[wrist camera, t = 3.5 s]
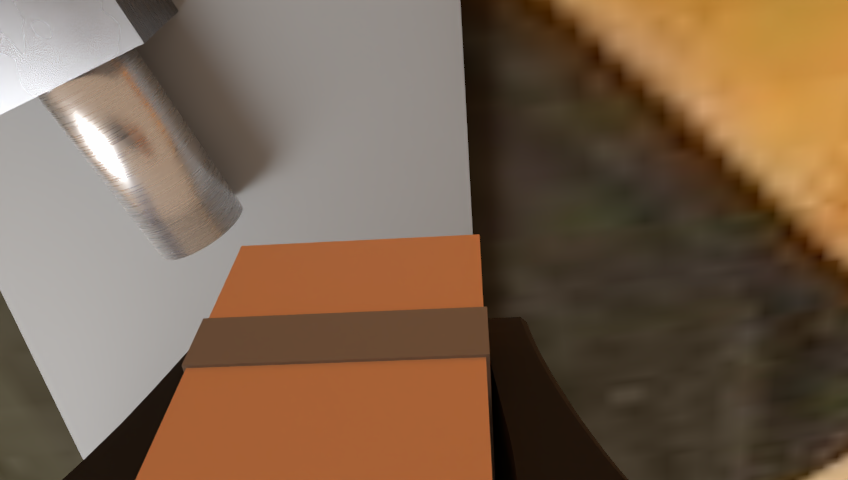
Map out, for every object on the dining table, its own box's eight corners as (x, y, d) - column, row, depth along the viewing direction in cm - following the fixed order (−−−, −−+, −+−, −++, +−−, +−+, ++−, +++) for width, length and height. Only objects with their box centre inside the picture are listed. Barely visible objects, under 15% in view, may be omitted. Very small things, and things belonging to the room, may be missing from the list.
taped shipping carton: (490, 410, 14) (505, 680, 10) (282, 417, 14) (211, 682, 10) (482, 231, 12) (496, 480, 8) (237, 243, 12) (124, 489, 8)
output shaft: (289, 160, 20) (265, 224, 17) (159, 216, 21) (116, 285, 18) (131, -98, 17) (68, -70, 14) (-17, -16, 18) (-103, 25, 15)
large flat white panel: (486, 498, 28) (487, 520, 27) (129, 513, 29) (120, 535, 28) (451, -150, 16) (452, -145, 15) (-154, -95, 17) (-185, -89, 16)
